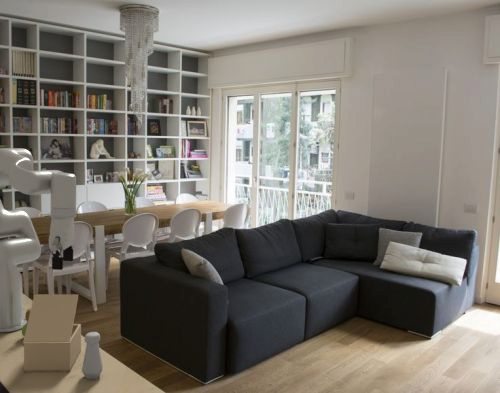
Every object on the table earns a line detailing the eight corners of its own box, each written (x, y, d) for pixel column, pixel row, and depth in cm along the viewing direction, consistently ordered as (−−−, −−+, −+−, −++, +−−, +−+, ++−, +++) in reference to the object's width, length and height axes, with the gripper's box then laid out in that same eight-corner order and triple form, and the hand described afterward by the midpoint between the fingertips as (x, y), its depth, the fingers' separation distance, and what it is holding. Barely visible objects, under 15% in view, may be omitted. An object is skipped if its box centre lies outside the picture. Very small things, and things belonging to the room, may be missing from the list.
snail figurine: (42, 333, 170) (42, 300, 169) (35, 341, 164) (34, 307, 162) (27, 333, 170) (26, 299, 168) (18, 340, 164) (18, 306, 162)
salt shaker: (96, 382, 139) (96, 339, 137) (78, 379, 140) (77, 336, 138) (106, 372, 144) (106, 331, 143) (88, 370, 146) (88, 328, 144)
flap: (35, 295, 151) (34, 294, 150) (78, 295, 152) (78, 294, 152) (23, 342, 142) (23, 341, 141) (70, 342, 143) (69, 341, 143)
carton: (39, 351, 157) (38, 324, 156) (81, 350, 158) (81, 324, 157) (24, 372, 143) (23, 343, 142) (70, 371, 144) (70, 342, 143)
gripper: (60, 207, 162) (60, 257, 164) (40, 216, 145) (40, 272, 147) (83, 208, 162) (83, 258, 164) (66, 218, 145) (65, 273, 147)
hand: (62, 264), depth 156 cm, fingers open, 9 cm apart
